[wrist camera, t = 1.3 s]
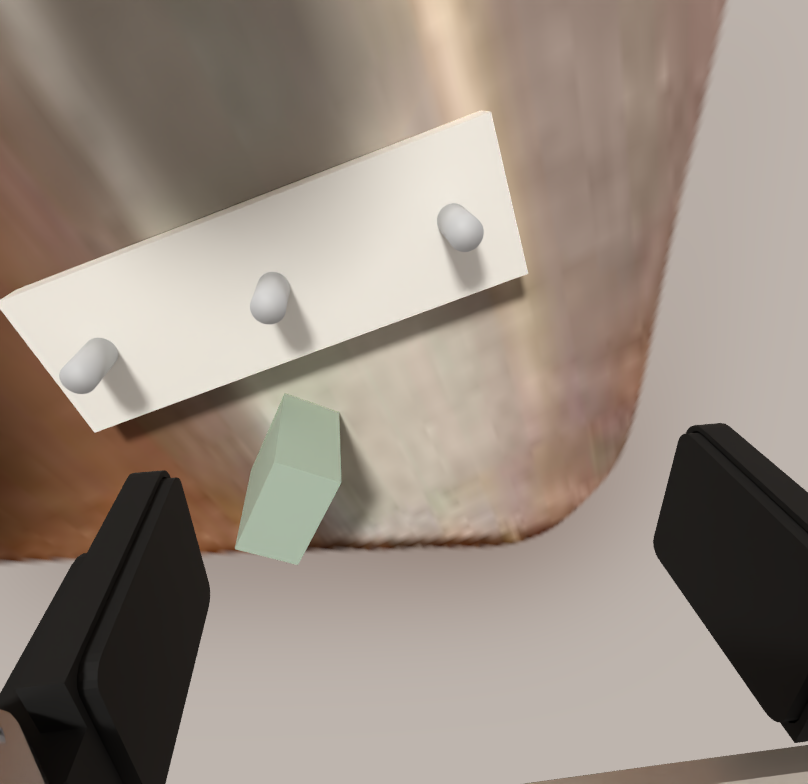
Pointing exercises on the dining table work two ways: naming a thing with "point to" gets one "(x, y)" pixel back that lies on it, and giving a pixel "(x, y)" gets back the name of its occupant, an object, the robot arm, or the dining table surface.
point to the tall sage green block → (291, 481)
